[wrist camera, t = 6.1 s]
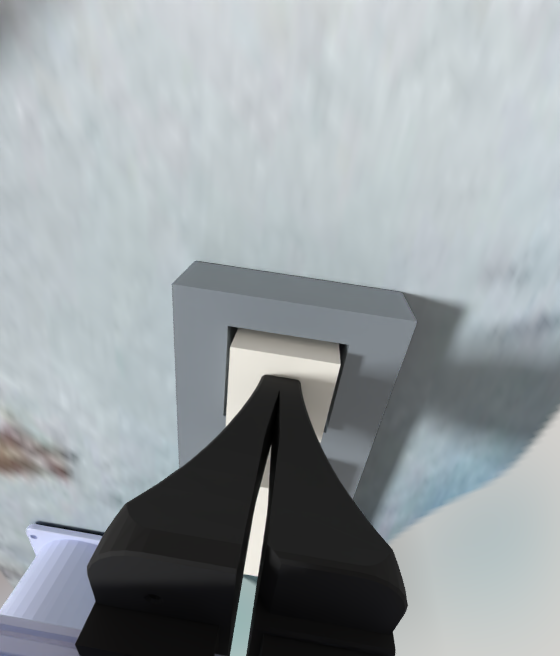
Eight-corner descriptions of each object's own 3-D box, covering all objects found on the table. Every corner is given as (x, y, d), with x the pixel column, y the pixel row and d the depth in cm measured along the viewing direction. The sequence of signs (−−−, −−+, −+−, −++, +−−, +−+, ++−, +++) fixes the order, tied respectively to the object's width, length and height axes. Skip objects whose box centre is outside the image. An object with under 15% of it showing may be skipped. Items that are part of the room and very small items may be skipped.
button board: (321, 541, 23) (321, 585, 20) (195, 520, 23) (182, 560, 21) (402, 292, 14) (417, 321, 12) (195, 260, 14) (172, 283, 12)
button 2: (320, 392, 16) (320, 442, 14) (240, 380, 16) (225, 426, 14) (336, 322, 14) (340, 364, 12) (246, 308, 14) (230, 346, 12)
